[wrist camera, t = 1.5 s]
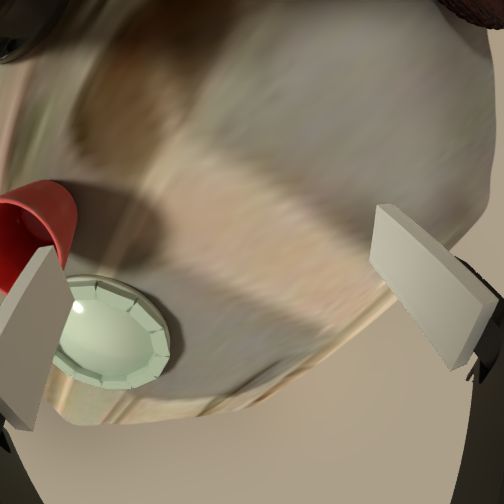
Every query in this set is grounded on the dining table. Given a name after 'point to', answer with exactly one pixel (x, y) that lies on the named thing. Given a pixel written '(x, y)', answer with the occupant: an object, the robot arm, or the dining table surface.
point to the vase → (479, 12)
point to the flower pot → (34, 226)
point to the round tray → (112, 335)
